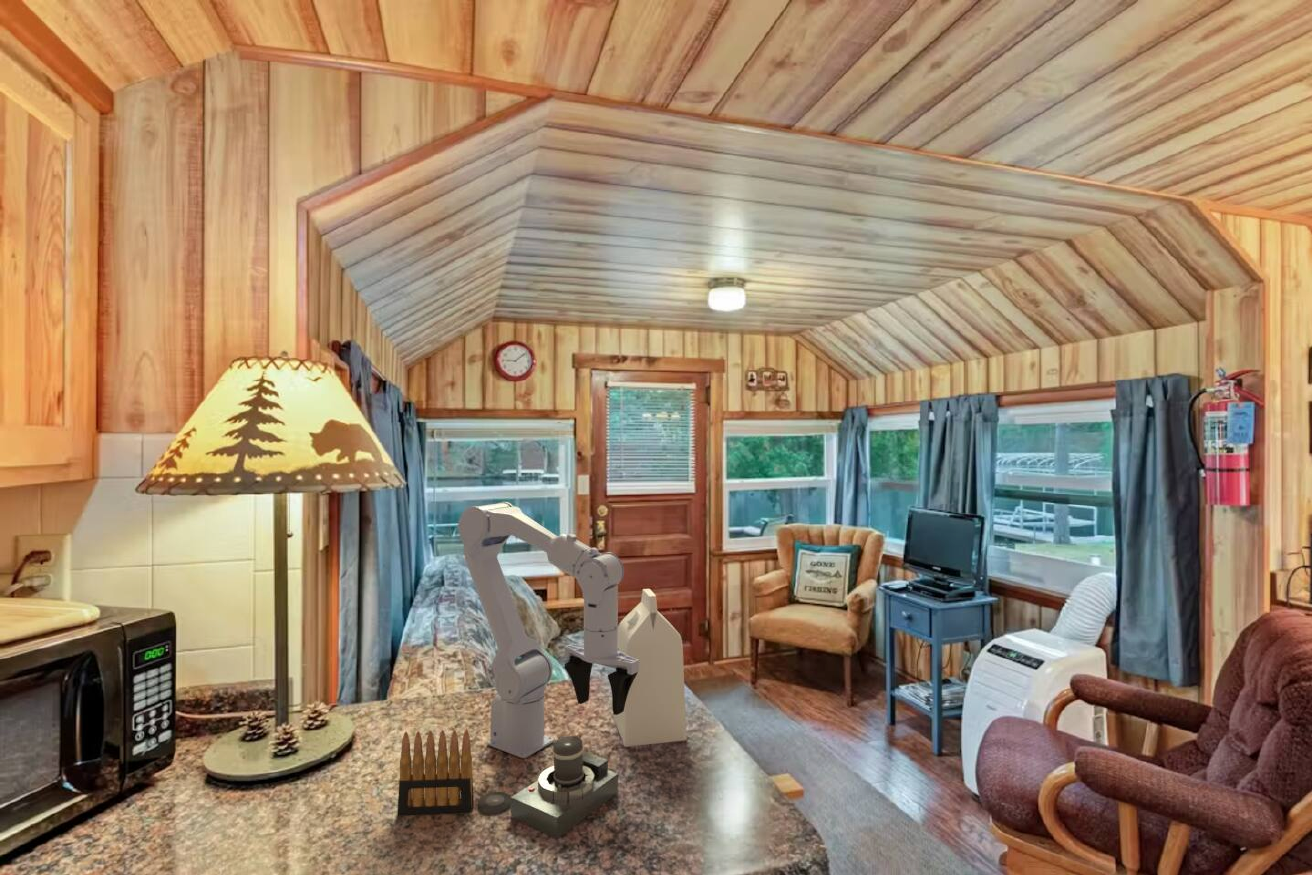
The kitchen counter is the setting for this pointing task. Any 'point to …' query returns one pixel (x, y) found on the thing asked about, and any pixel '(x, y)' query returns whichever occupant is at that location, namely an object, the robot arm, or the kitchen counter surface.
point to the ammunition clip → (435, 777)
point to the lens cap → (494, 803)
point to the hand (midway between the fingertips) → (600, 707)
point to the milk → (652, 677)
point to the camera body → (564, 798)
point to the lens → (568, 762)
